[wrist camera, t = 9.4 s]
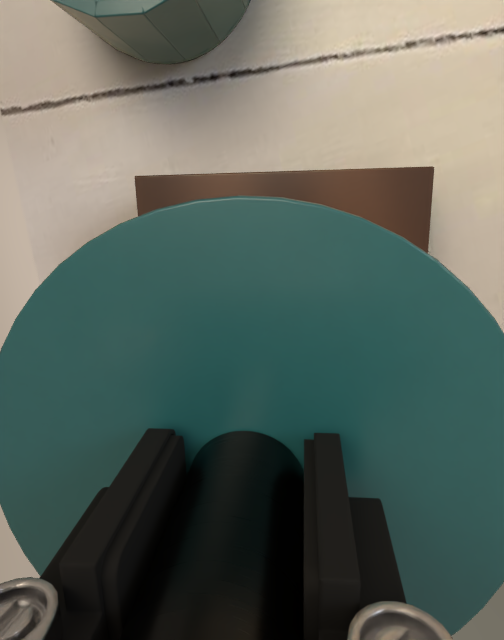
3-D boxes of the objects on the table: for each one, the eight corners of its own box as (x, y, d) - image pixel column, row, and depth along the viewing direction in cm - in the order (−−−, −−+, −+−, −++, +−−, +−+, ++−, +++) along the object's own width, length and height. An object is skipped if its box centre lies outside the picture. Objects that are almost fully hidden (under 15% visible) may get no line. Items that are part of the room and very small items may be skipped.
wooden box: (185, 389, 35) (157, 436, 28) (170, 178, 31) (134, 176, 24) (391, 392, 33) (414, 444, 27) (404, 171, 29) (434, 166, 23)
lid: (50, 633, 14) (-163, 1005, 8) (-28, 203, 11) (-515, 220, 4) (489, 668, 13) (678, 1157, 6) (555, 186, 9) (1096, 177, 3)
